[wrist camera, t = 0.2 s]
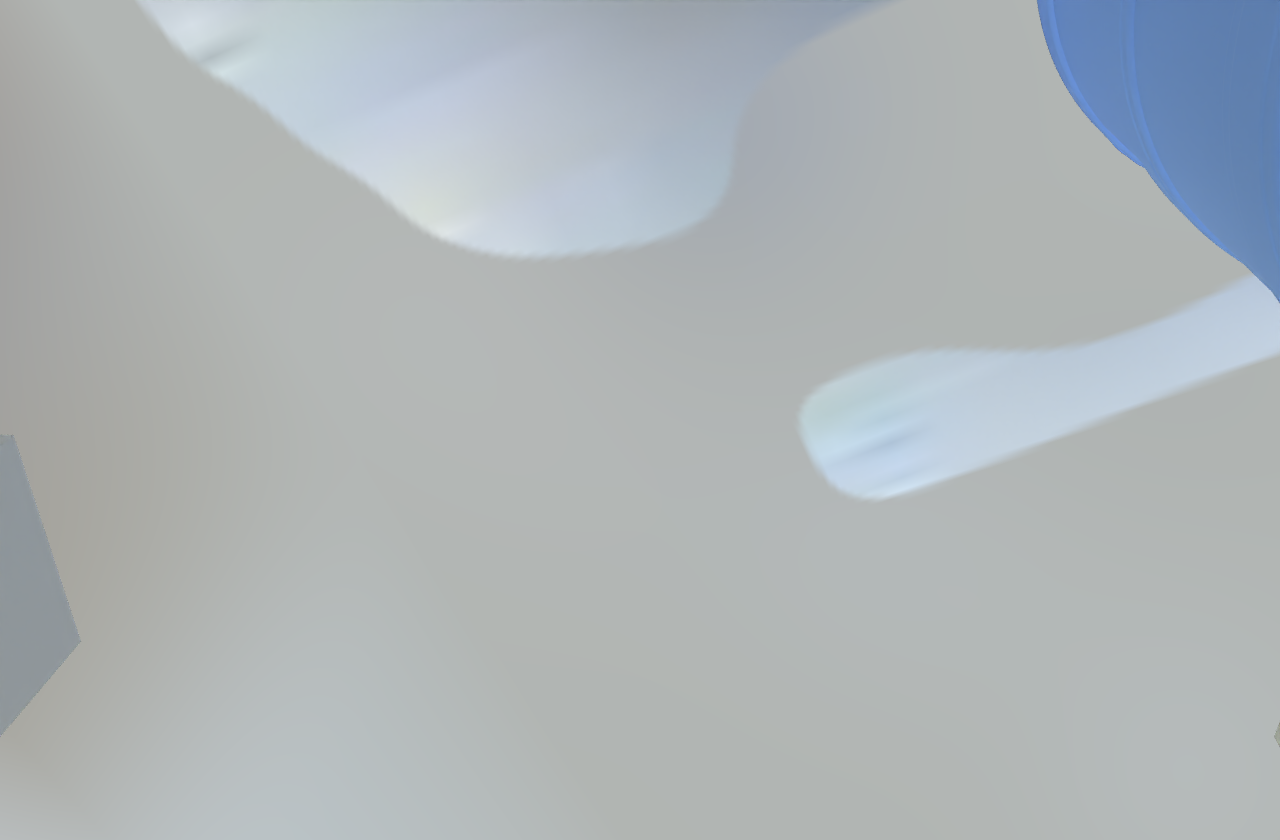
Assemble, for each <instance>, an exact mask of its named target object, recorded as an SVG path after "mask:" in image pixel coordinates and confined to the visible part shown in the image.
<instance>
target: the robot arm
mask: <svg viewBox="0 0 1280 840" xmlns="http://www.w3.org/2000/svg"><path fill="white" fill-rule="evenodd" d="M80 642H81V640H80V637H79V634H78V631H77V628H76V625H75V622H74V619H73V616H72V613H71V610H70V606H69V603H68V600H67V597H66V594H65V591H64V588H63V585H62V582H61V579H60V576H59V573H58V570H57V567H56V564H55V561H54V558H53V555H52V551H51V548H50V545H49V542H48V539H47V536H46V533H45V530H44V527H43V524H42V521H41V518H40V515H39V512H38V509H37V505H36V502H35V499H34V497H33V493H32V490H31V487H30V484H29V481H28V478H27V475H26V472H25V469H24V466H23V463H22V460H21V457H20V453H19V450H18V447H17V444H16V441H15V438H14V435H2V434H0V737H1V735H2V734H3V733H4V732H5V730H6V729H7V728H8V727H9V726H10V725H11V724H12V722H13V721H14V720H15V719H16V718H17V716H18V715H19V714H20V713H21V712H22V710H23V709H24V708H25V707H26V706H27V705H28V703H29V702H30V701H31V700H32V699H33V697H34V696H35V695H36V694H37V693H38V691H39V690H40V689H41V688H42V687H43V686H44V684H45V683H46V682H47V681H48V680H49V679H50V677H51V676H52V675H53V674H54V673H55V672H56V670H57V669H58V668H59V667H60V666H61V664H62V663H63V662H64V661H65V660H66V659H67V657H68V656H69V655H70V654H71V652H72V651H73V650H74V649H75V648H76V647H77V645H78V644H79V643H80ZM1274 737H1275V739H1276V741H1277V742H1278V744H1279V746H1280V723H1279V725H1278V728H1277V731H1276V733H1275V736H1274Z"/></svg>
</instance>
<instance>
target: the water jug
mask: <svg viewBox="0 0 1280 840" xmlns="http://www.w3.org/2000/svg"><path fill="white" fill-rule="evenodd" d="M1037 3H1038V9H1039V14H1040V20H1041V25H1042V29H1043V32H1044V36H1045V39H1046V43H1047V46H1048V49H1049V51H1050V54H1051V57H1052V59H1053V62H1054V64H1055V66H1056V69H1057V71H1058V73H1059V75H1060V77H1061V79H1062V81H1063V82H1064V84H1065V86H1066V88H1067V89H1068V91H1069V93H1070V94H1071V96H1072V97H1073V99H1074V100H1075V102H1076V103H1077V104H1078V106H1079V107H1080V108H1081V110H1082V111H1083V112H1084V113H1085V115H1086V116H1087V117H1088V118H1089V119H1090V120H1091V122H1092V123H1093V124H1094V125H1095V126H1096V127H1097V128H1098V129H1099V130H1100V131H1101V132H1102V133H1103V134H1104V135H1105V136H1106V137H1107V138H1108V139H1109V140H1110V142H1111V143H1112V144H1113V145H1114V146H1115V147H1116V148H1117V149H1118V150H1119V151H1120V152H1121V153H1123V154H1124V155H1126V156H1127V157H1128V158H1130V159H1131V160H1133V161H1134V162H1135V163H1136V164H1138V165H1140V166H1142V167H1144V168H1145V169H1146V170H1147V172H1148V173H1149V174H1150V176H1151V177H1152V179H1153V180H1154V182H1155V183H1156V184H1157V186H1158V187H1159V188H1160V189H1161V191H1162V192H1163V193H1164V194H1165V195H1166V196H1167V198H1168V199H1169V200H1170V201H1171V202H1172V203H1173V204H1174V205H1175V206H1176V207H1177V208H1178V209H1179V210H1180V211H1181V212H1182V213H1183V214H1184V215H1185V216H1186V217H1187V218H1188V219H1189V220H1190V221H1191V222H1192V223H1193V224H1194V225H1195V226H1196V227H1197V228H1198V229H1199V230H1200V231H1201V232H1202V233H1203V234H1204V235H1205V236H1206V237H1208V238H1209V239H1210V240H1211V241H1213V242H1214V243H1215V244H1216V245H1218V246H1219V247H1220V248H1221V249H1223V250H1224V251H1225V252H1227V253H1228V254H1230V255H1231V256H1233V257H1234V258H1236V259H1237V260H1238V261H1240V262H1242V263H1243V264H1244V265H1245V266H1246V267H1247V268H1248V269H1249V270H1250V271H1251V272H1252V273H1253V274H1254V275H1255V276H1256V277H1257V278H1258V279H1259V280H1260V281H1261V282H1263V283H1264V284H1265V285H1266V286H1267V287H1268V288H1269V289H1270V290H1271V291H1272V292H1273V294H1274V295H1275V297H1276V298H1277V300H1278V301H1279V303H1280V0H1037Z"/></svg>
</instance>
